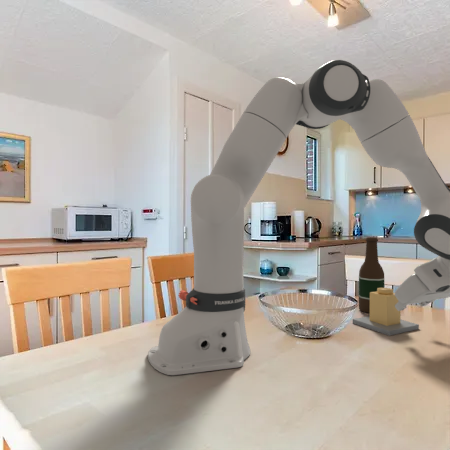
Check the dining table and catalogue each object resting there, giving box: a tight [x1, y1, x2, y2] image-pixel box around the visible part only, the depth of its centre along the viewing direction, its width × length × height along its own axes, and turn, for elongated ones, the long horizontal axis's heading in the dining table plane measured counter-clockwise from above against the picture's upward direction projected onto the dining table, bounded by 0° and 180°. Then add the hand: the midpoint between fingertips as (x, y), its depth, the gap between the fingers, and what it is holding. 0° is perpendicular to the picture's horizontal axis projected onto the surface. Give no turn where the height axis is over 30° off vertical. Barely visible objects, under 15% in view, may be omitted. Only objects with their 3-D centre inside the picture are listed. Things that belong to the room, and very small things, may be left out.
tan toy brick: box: [369, 287, 402, 326], centre depth 98 cm, size 6×6×9 cm
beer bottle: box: [358, 236, 385, 314], centre depth 114 cm, size 8×8×24 cm
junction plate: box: [352, 315, 420, 336], centre depth 98 cm, size 12×12×4 cm
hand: (409, 306), depth 91 cm, fingers open, 8 cm apart
